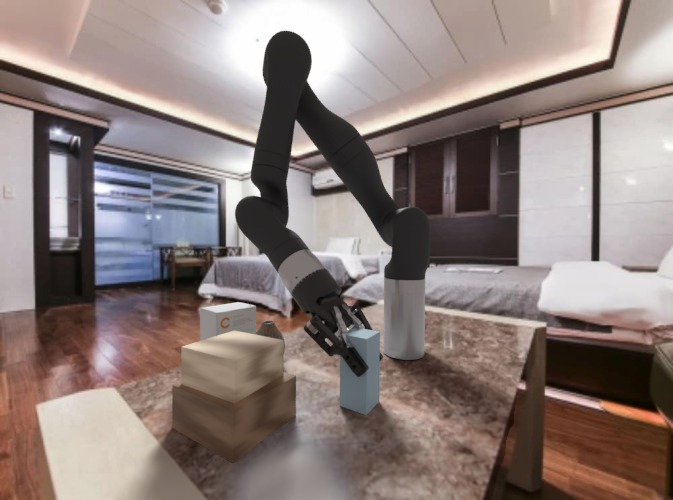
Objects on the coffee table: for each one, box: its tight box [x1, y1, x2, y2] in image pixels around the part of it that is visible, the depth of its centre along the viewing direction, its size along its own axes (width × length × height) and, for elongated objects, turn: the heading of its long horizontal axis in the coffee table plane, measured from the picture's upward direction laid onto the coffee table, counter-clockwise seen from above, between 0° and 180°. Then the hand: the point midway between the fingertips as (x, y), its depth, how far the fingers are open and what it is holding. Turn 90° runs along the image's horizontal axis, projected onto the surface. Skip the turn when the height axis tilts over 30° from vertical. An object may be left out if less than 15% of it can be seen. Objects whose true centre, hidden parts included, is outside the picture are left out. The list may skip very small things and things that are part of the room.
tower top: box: [180, 330, 285, 404], centre depth 41 cm, size 9×10×5 cm
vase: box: [256, 320, 286, 353], centre depth 60 cm, size 7×7×9 cm
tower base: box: [171, 371, 297, 464], centre depth 40 cm, size 11×12×6 cm
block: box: [339, 328, 381, 416], centre depth 45 cm, size 4×4×11 cm
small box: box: [199, 301, 257, 341], centre depth 54 cm, size 8×6×13 cm
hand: (371, 366), depth 44 cm, fingers closed on block, 4 cm apart
